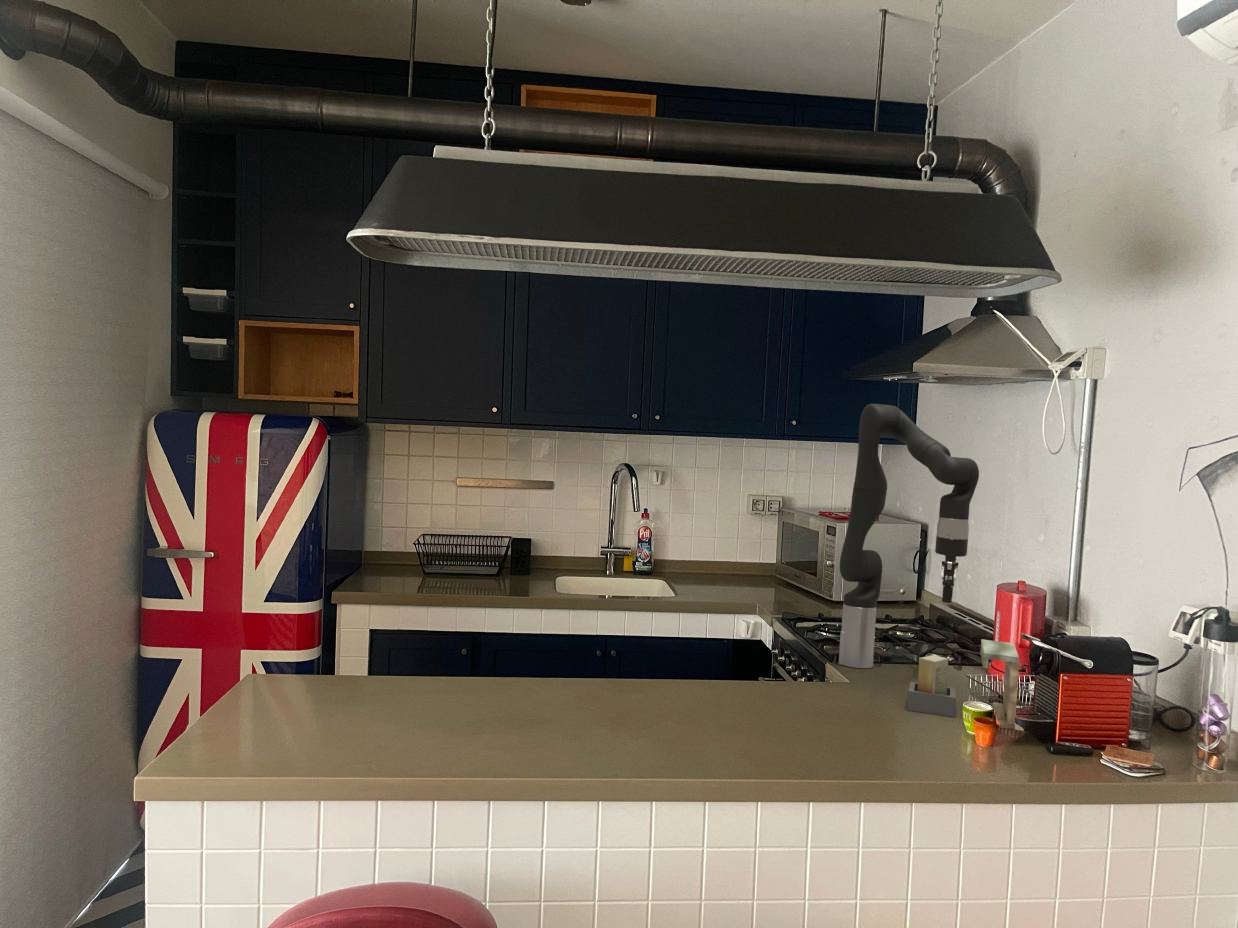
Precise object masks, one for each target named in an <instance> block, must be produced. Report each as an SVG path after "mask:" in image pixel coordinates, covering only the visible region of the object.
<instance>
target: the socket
mask: <svg viewBox="0 0 1238 928" xmlns="http://www.w3.org/2000/svg"><path fill="white" fill-rule="evenodd" d="M956 691H957V690H956V687H953V686H947V695H940V694H933V693H926V692H919V691H918V681H917V682H916V681H909V688H908V695H907V711H911V712H917V713H924V714H925V713H926V714H930V715H937V716H945V717H950V718H955V716H956V715H955V714H956V702H957V701H956V699H957V698H956V697H957V696H956V694H957V693H956Z"/></svg>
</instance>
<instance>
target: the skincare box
mask: <svg viewBox="0 0 1238 928" xmlns="http://www.w3.org/2000/svg"><path fill="white" fill-rule="evenodd" d="M948 672H949V658H946V657H942V656H938V655H934V654H931V655H927V656H923V657H919V658H918V674H917V677H918V678H917V683H918V691H919V692H926V693H933V694H940V695H947V687H948V674H949V673H948Z"/></svg>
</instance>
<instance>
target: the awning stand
mask: <svg viewBox="0 0 1238 928" xmlns="http://www.w3.org/2000/svg"><path fill="white" fill-rule="evenodd" d="M979 654H980V657H981V665H982V669H988V670H989V660H993V661H994V660H995V661H1002V662H1004V663H1005V664H1004V665H1005V666H1004V678H1003V679H1004V680H1003V696H1002V703H1000V702H995V701H994V702H992V708H993V707H994V708H995V710H996V711H997V718H998V719H999V720H1000V723H1001V727H1000V728H1001V729H1002V728H1003V729H1008V730H1009V729H1010V730H1015V731H1021V732H1022V731H1024V729H1023V728H1022V727H1020V726H1019V725H1017V724H1016V723H1015V717H1016V708H1021V707H1020V705H1017V698H1018V697H1017V696H1018V682H1019V665H1020V657H1019V653H1018V651H1017V649H1016V646H1015V644H1014V642H1008V641H1007V642H1006V641H1000V640H991V639H990V640H989V639H984V638H983V639H980V653H979ZM1005 713H1006V716H1005ZM1024 732H1025V731H1024Z"/></svg>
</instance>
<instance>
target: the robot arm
mask: <svg viewBox="0 0 1238 928" xmlns="http://www.w3.org/2000/svg"><path fill="white" fill-rule="evenodd" d="M858 428H859V429H858V446H857V447H858V449H857V450H858V451H857V453H858V454H857V460H856V470H855V477H854V482H853V488H852V489H853V490H852V494H851V502H850V503H851V504H850V505H851V506H850V510H849V519H848V523H847V528H846V532H845V537H844V541H843V545H842V548H841V553H840V559H839V572H840V576H841V578H842V579H843V580H844V581H846V582H849V583H851V582H852V583H857V585H856V587H855V588H853V589H852V590H850V591H848V592H846V593H845V594H844V595H843V600H842V601H843V602H842V603H843V604H842V618H841V631H840V637H839V654H838V665H841V666H846V667H849V668H856V669H871V668H873V666H874V652H875V651H874V650H875V634H876V620H877V618H876V617H877V604H878V600H879V598H880V594H881V585H882V579H883V578H882V577H883V576H882V575H883V561H882V557H881V555H880V553H878V552H877V551H875V550H872V549H864V544H865V540H866V537H867V535H868V534H869V531H870V530H871V528H872V527H873V525H874V524H875V523H876V522H877V521H878V519H879V517H880V516H881V514H882V512H883V511H884V509H885V505H886V498H887V491H888V481H887V477H886V474H885V472H884V468H883V467H882V463H881V461H880V457H879V446H880V438H893V439H895V440H898V441H900V442H902V443H903V444H905V446H906V447H907V450H908V453H909V454H910V456H912V458H913V459H914V460H917V461H918V462H919V463H920V464H922V465H923V466H924V467H926V468H927V469H928V470H929V472H930V473H931V474H932V475H933V477H934V478H935V480H937V481H938V482H940V483H942V484H944V485H947V486H948V485H949V486H953V487H952V491H951V492H949V493H947V494H944V495H942V496H941V497H940V500H939V511H938V521H937V524H936V535H935V536H936V537H935V546H934V547H935V549H934V553H936V554H937V555H941V556H944V560H941V566H940V567H941V580H942V582H941V583H942V584H941V585H942V596H941V597H942V598H941V599H942V600H941V601H942V603H947V604H951V603H952V602H953V593H954V587H955V581H957V572H958V570H959V562H956V561H957V557H960V558H963V557H967V555H968V543H969V531H970V525H969V518H970V506H971V505H970V503H971V501H972V499H973V496H974V495H975V494H974V493H975V490H976V488H977V485H978V481H979V476H980V469H979V466H978V464H977V462H976V461H974V459H972V458H969V457H960V456H959V457H958V456H957V457H956V456H952V455H951V452H950V450H949V448H947V446H945V445H944V444H942V443H941V442H940V441H938V440H936V439H935V438H933V437H931V436H930V435H928V433H926V432H924V431H923V430H922V429H921V428H920V427H919V426H918V425H917V424H916V423H914V422H913V420H912V419H910V417H909V416H908V415H907V414H906V413H904V411H903V410H901V409H900V408H899V407H897V406H896V405H891V404H880V403H870V404H867V405H866V406H865V407H864V408H863V410H862V412H861V415H860V419H859V427H858Z"/></svg>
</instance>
